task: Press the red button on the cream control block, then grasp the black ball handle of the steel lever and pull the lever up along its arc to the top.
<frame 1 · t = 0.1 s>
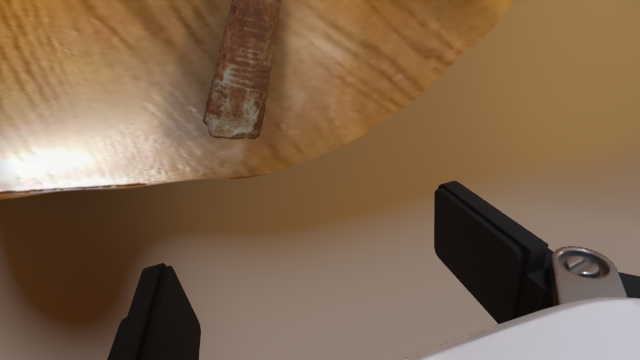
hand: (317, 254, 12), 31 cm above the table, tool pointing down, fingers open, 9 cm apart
salami: (241, 45, 37), on the table
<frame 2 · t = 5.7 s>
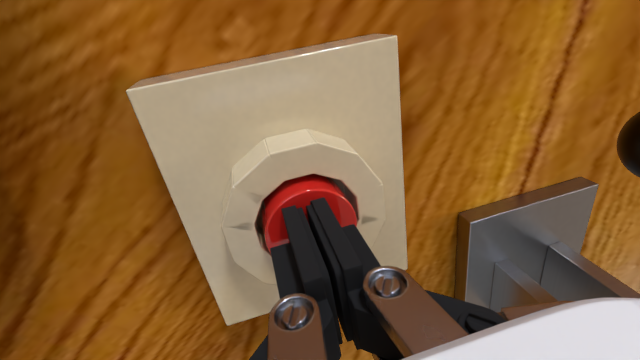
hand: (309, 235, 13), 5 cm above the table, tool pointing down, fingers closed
button: (307, 220, 13), point 4 cm above the table, slide at -0.6 cm, touching gripper
button block: (291, 180, 17), on the table
bracket: (511, 265, 24), on the table
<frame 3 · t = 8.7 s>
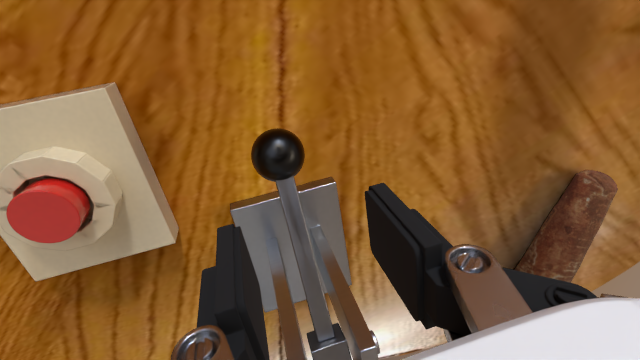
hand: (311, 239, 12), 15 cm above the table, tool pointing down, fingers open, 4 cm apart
button: (51, 210, 20), point 4 cm above the table, slide at 0.1 cm
lever: (304, 256, 20), point 9 cm above the table, hinge at -25.0°
salami: (535, 236, 40), on the table
button block: (79, 180, 24), on the table
bracket: (295, 244, 31), on the table
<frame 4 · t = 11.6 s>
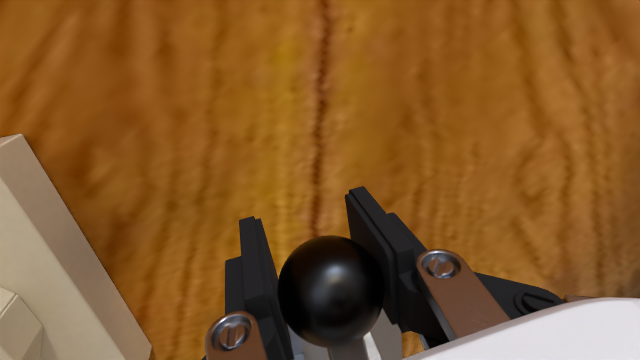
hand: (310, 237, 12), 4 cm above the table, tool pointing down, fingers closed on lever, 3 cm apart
bracket: (328, 349, 21), on the table
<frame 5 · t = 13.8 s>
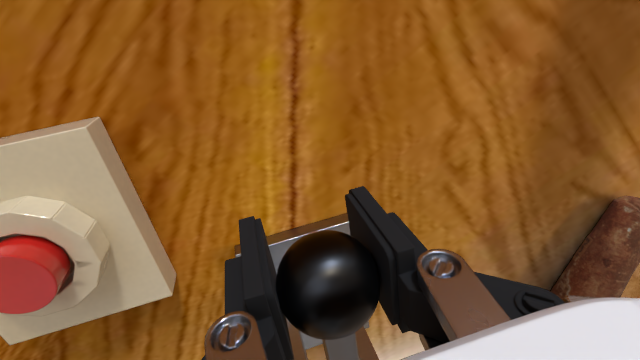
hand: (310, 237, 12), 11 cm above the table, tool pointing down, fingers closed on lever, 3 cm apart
button: (22, 274, 17), point 4 cm above the table, slide at 0.1 cm
salami: (565, 265, 36), on the table
button block: (60, 227, 21), on the table
bracket: (307, 285, 28), on the table
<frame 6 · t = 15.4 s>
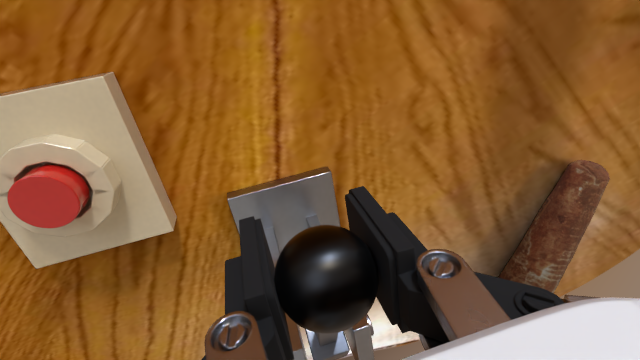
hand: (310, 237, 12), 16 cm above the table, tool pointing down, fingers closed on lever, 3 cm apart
button: (51, 196, 21), point 4 cm above the table, slide at 0.1 cm
lever: (326, 318, 16), point 15 cm above the table, hinge at 30.0°, touching gripper
salami: (529, 227, 40), on the table
button block: (78, 168, 24), on the table
bracket: (292, 234, 32), on the table
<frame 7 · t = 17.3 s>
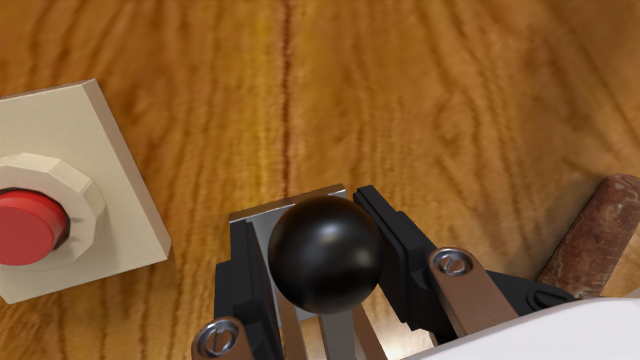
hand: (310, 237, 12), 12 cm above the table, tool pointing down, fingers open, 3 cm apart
button: (19, 227, 17), point 4 cm above the table, slide at 0.1 cm
lever: (338, 346, 13), point 14 cm above the table, hinge at 14.4°
salami: (558, 244, 37), on the table
button block: (57, 189, 21), on the table
bracket: (301, 257, 28), on the table
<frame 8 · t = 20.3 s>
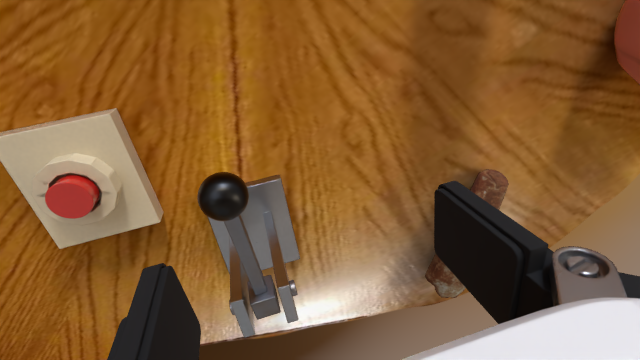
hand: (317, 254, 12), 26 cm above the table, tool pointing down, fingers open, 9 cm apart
button: (73, 196, 30), point 4 cm above the table, slide at 0.1 cm
lever: (246, 254, 26), point 14 cm above the table, hinge at 14.4°
salami: (454, 222, 49), on the table
button block: (91, 176, 34), on the table
bracket: (254, 226, 41), on the table
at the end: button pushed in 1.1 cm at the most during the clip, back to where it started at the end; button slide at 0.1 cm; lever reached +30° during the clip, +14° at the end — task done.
